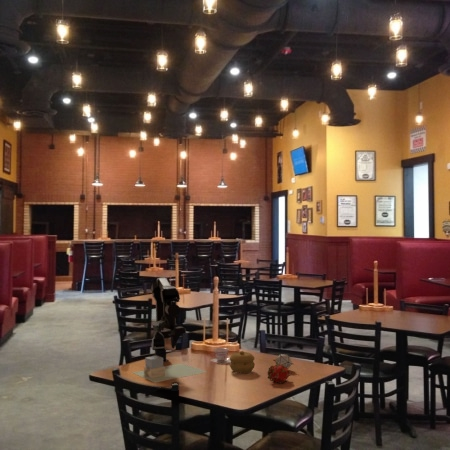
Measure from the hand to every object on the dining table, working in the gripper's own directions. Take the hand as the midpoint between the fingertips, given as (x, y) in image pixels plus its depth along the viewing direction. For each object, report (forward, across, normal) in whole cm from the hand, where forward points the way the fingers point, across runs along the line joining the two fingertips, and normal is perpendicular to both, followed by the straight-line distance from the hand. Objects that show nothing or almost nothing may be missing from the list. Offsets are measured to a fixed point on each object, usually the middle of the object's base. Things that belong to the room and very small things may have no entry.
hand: (170, 347), depth 246 cm
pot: (+12, +21, +26) cm, 36 cm away
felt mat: (+12, 0, 0) cm, 12 cm away
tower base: (+12, 0, -8) cm, 14 cm away
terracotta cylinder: (+1, 0, 0) cm, 1 cm away
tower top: (+8, 0, -8) cm, 11 cm away
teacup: (+12, -2, +32) cm, 35 cm away
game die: (+12, +32, +43) cm, 55 cm away
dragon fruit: (+13, +44, +27) cm, 54 cm away
